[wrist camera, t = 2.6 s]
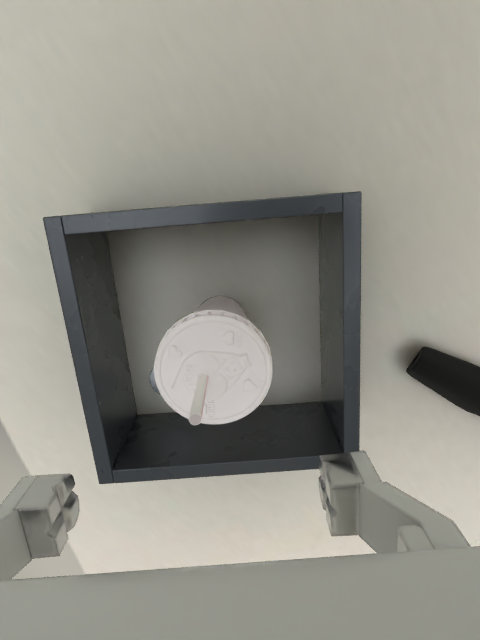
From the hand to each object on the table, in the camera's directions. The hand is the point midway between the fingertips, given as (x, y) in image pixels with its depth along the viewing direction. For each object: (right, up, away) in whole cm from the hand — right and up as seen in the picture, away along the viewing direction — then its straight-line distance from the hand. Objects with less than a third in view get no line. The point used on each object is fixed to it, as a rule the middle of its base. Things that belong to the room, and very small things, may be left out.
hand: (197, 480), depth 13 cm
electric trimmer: (+21, -1, +19) cm, 29 cm away
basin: (0, +5, +17) cm, 18 cm away
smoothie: (0, +5, +17) cm, 18 cm away
